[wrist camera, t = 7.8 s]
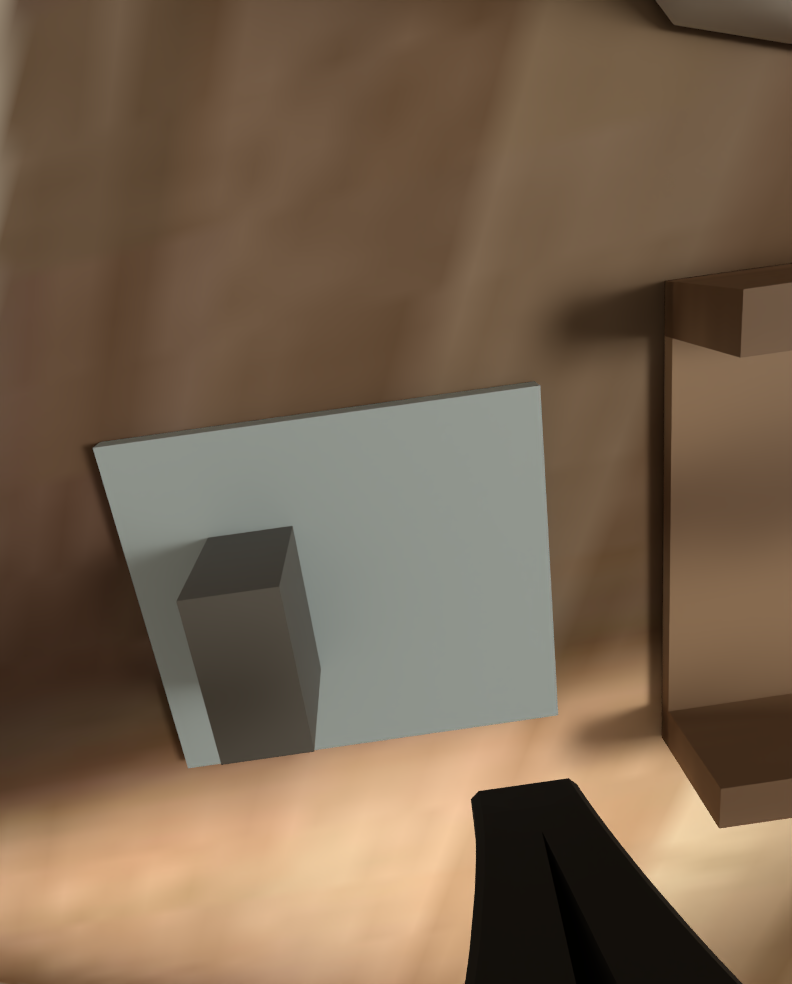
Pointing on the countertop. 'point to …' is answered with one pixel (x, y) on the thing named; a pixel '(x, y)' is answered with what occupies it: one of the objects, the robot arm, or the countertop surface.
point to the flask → (734, 17)
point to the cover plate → (343, 571)
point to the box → (729, 540)
